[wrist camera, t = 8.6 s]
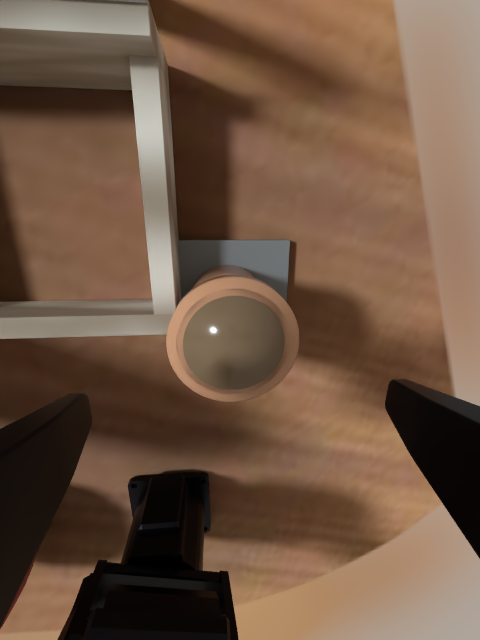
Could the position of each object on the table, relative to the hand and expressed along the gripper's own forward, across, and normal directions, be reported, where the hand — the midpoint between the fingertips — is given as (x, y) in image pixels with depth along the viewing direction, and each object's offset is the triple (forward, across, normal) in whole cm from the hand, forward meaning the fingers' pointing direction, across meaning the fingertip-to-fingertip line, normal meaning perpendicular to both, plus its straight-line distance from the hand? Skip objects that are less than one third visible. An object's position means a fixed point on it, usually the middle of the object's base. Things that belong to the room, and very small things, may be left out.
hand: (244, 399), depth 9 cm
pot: (+11, 0, 0) cm, 11 cm away
